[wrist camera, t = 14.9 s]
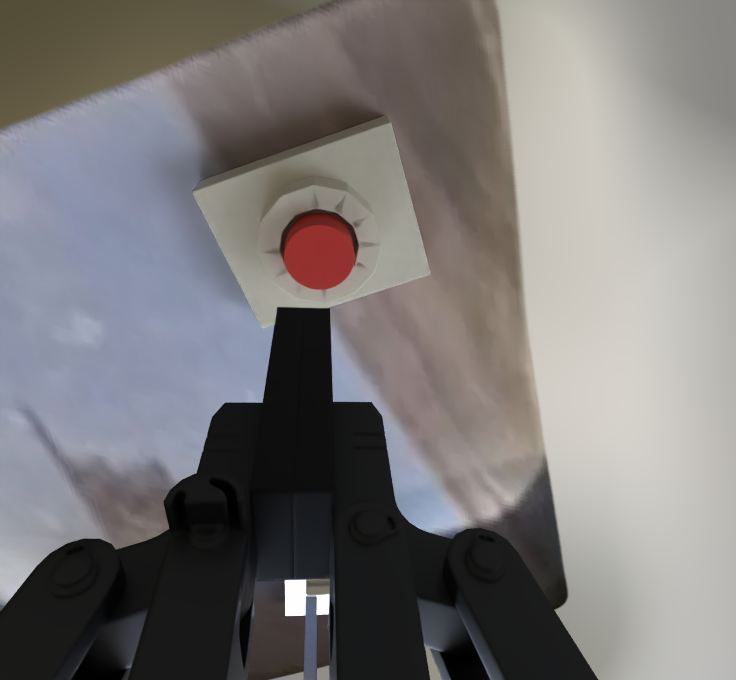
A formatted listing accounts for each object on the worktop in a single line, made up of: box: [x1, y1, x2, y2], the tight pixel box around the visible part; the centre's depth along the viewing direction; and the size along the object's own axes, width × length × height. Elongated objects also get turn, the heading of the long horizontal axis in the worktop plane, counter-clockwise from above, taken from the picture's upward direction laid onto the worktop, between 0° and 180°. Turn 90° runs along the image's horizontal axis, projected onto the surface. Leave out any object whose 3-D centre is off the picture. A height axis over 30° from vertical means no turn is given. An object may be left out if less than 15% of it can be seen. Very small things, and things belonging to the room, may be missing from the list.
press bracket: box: [285, 580, 329, 680], centre depth 42 cm, size 12×9×15 cm
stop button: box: [284, 213, 355, 290], centre depth 26 cm, size 4×4×2 cm
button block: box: [192, 116, 431, 328], centre depth 28 cm, size 11×9×4 cm
